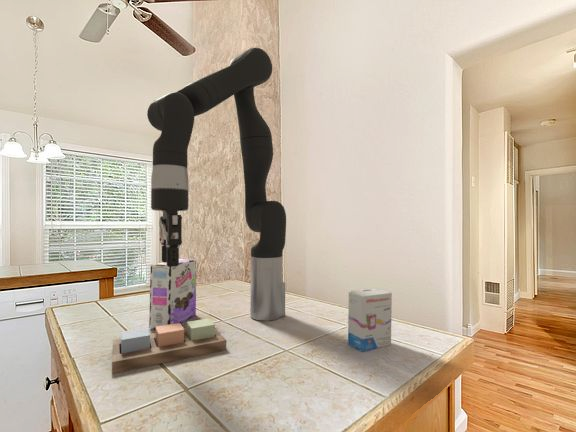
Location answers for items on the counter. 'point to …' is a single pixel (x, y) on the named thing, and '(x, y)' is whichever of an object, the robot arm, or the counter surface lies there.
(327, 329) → the counter surface
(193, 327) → the sage tile
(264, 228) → the robot arm
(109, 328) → the counter surface
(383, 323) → the ink box
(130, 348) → the squat grey square block
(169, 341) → the terracotta tile
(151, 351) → the button board
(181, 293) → the candy box
